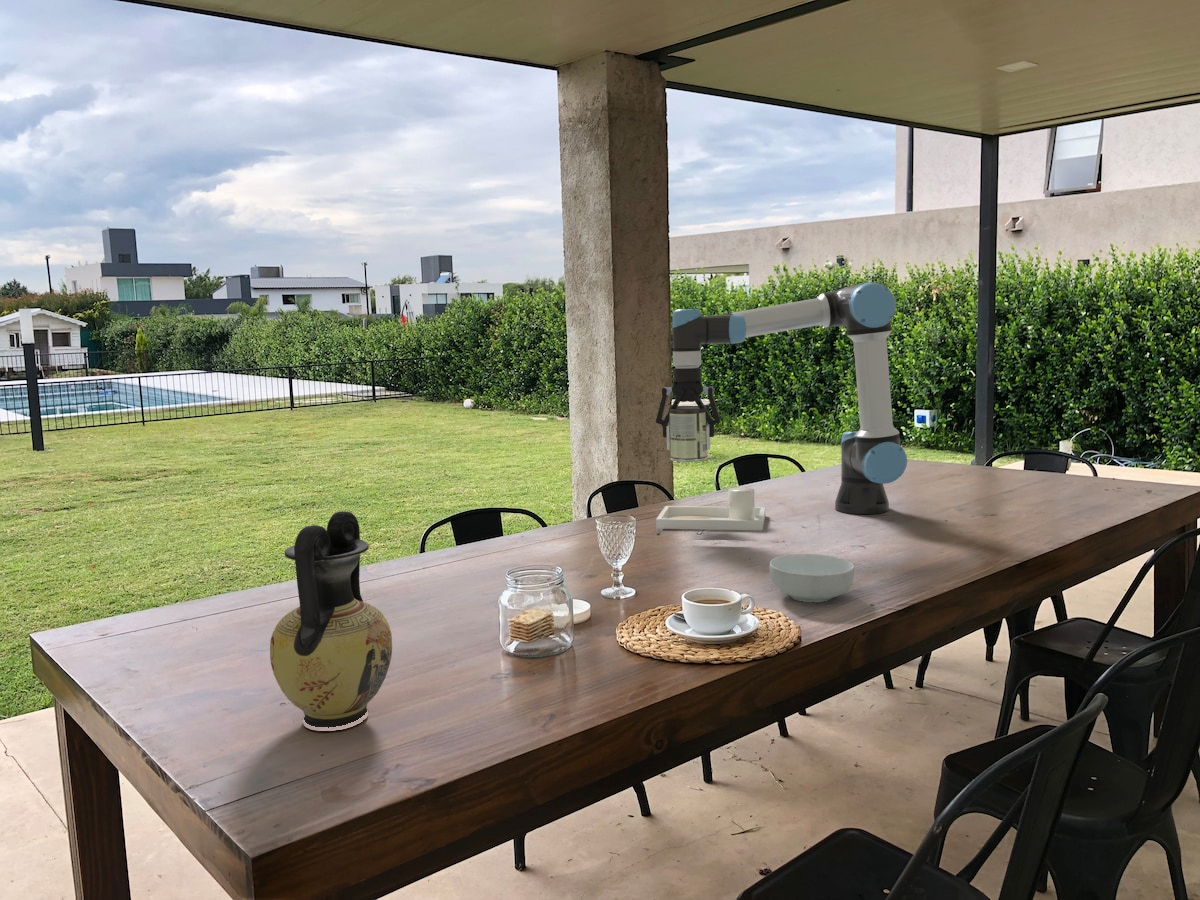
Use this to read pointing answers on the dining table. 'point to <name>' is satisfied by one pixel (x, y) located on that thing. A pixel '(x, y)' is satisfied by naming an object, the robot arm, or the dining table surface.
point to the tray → (705, 519)
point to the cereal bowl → (811, 576)
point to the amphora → (330, 629)
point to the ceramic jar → (741, 504)
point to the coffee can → (688, 434)
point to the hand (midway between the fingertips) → (688, 449)
